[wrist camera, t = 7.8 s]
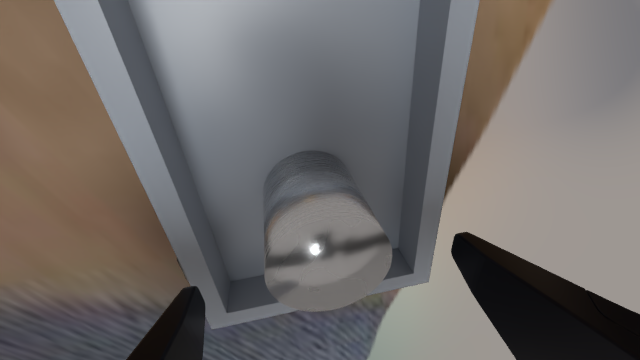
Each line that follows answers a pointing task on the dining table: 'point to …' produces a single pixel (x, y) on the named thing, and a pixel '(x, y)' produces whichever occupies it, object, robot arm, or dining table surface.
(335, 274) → the cylinder
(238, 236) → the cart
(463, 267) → the robot arm
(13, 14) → the dining table surface
